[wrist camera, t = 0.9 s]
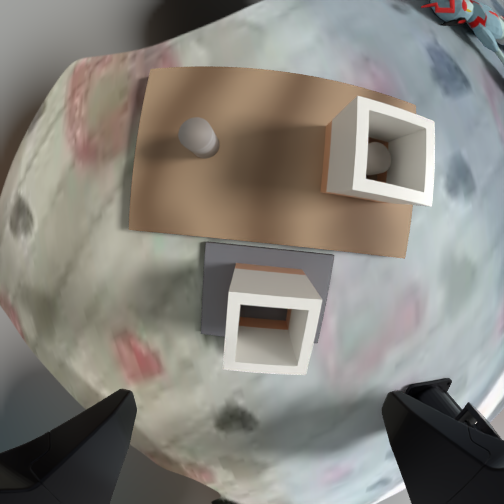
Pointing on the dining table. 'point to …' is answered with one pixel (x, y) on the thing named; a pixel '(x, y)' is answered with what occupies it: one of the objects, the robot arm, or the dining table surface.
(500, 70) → the dining table surface
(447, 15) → the toy
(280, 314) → the mat
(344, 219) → the pin board
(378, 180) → the sleeve seated
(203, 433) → the dining table surface
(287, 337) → the sleeve loose
